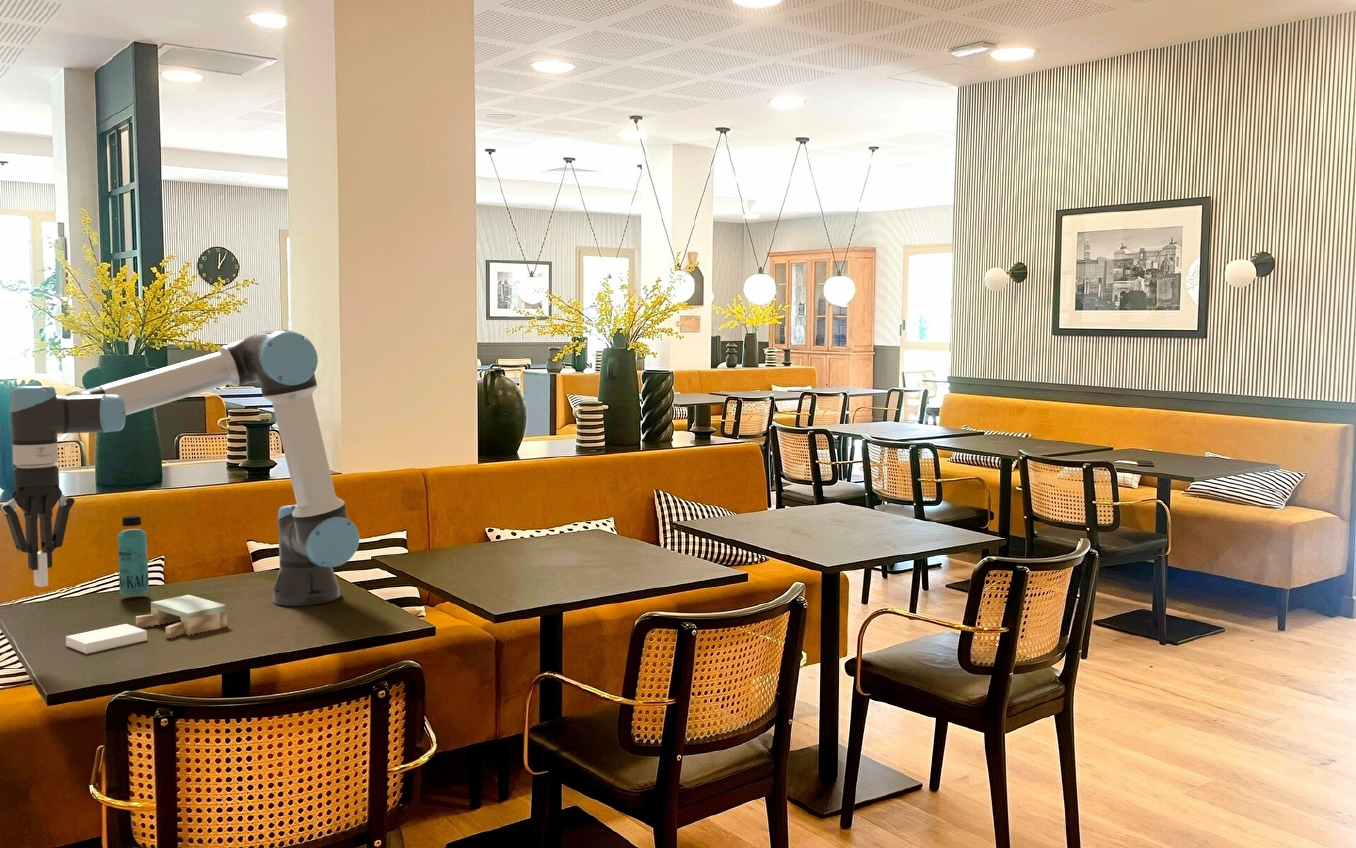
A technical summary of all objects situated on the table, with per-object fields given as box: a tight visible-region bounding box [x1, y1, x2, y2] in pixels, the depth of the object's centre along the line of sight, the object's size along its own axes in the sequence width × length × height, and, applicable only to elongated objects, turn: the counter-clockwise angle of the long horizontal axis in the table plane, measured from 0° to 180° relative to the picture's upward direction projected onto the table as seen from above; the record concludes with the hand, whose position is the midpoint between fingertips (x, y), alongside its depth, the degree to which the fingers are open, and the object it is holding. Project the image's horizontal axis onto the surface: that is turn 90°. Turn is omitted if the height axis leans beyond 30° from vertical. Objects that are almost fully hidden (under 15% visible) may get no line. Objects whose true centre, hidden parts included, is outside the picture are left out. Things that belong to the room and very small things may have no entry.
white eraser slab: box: [65, 623, 148, 655], centre depth 218 cm, size 12×9×2 cm
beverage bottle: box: [117, 515, 150, 596], centre depth 256 cm, size 6×7×20 cm
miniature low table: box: [135, 594, 228, 639], centre depth 230 cm, size 13×16×5 cm
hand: (41, 585), depth 208 cm, fingers closed
